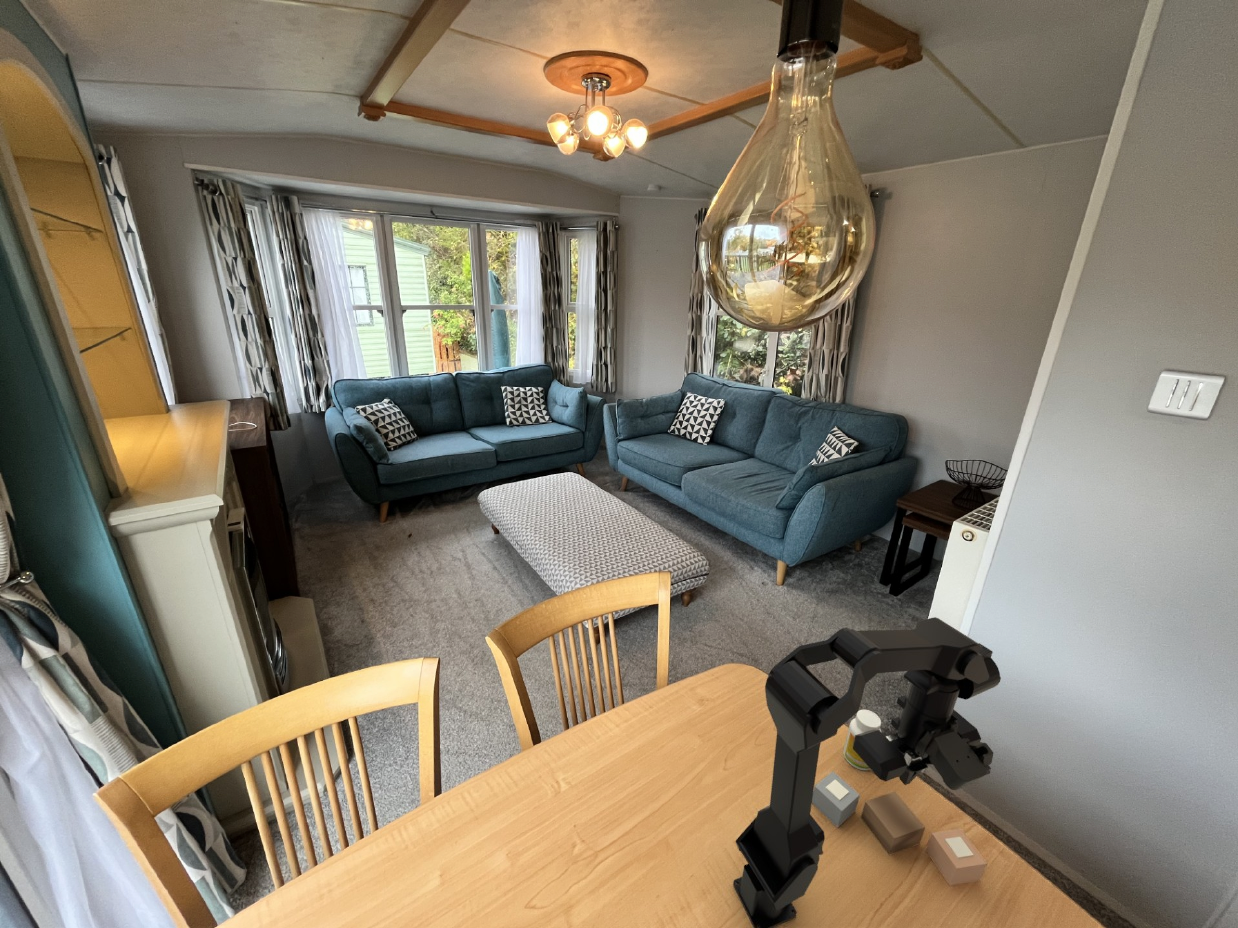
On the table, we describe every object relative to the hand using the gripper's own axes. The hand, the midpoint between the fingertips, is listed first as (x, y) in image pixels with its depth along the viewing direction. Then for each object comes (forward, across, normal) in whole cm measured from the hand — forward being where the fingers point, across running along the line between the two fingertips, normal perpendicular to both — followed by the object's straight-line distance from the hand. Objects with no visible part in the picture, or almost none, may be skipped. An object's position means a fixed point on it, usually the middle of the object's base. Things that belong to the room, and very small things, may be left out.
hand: (904, 781), depth 78 cm
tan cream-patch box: (+11, +5, -7) cm, 14 cm away
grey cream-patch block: (+11, -6, +6) cm, 14 cm away
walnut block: (+11, 0, 0) cm, 11 cm away
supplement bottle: (+11, +5, +12) cm, 17 cm away
